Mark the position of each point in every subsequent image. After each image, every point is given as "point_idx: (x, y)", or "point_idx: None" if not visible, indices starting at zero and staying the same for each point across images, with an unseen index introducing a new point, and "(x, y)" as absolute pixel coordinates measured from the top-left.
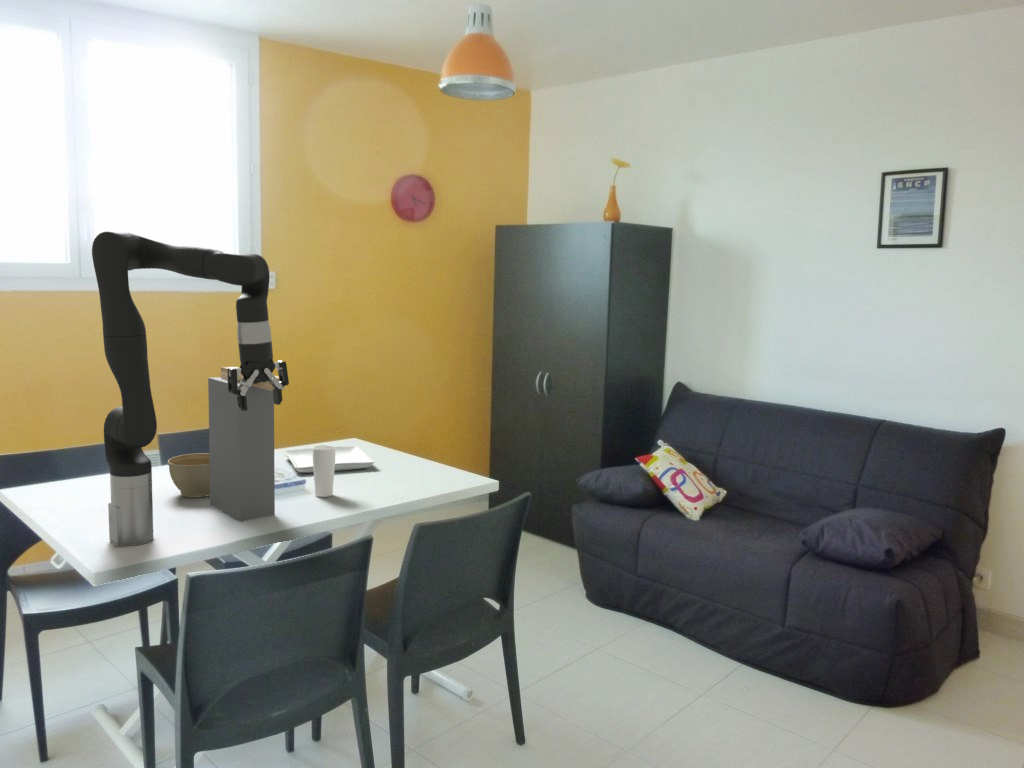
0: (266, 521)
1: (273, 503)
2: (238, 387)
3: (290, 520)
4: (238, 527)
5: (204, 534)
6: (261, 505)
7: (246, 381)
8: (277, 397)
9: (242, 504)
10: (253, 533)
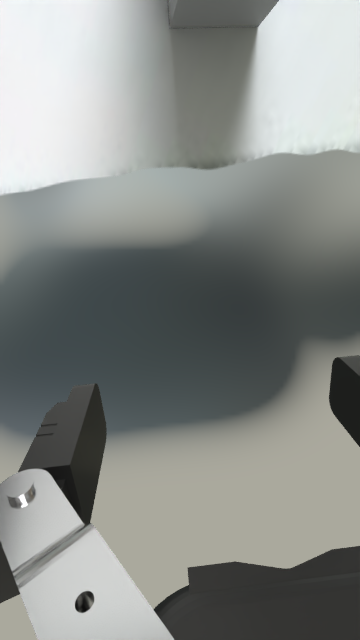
0: (220, 70)
1: (267, 11)
2: (5, 551)
3: (266, 99)
4: (150, 77)
5: (67, 82)
6: (233, 11)
7: (125, 598)
8: (358, 441)
9: (182, 5)
10: (164, 146)
